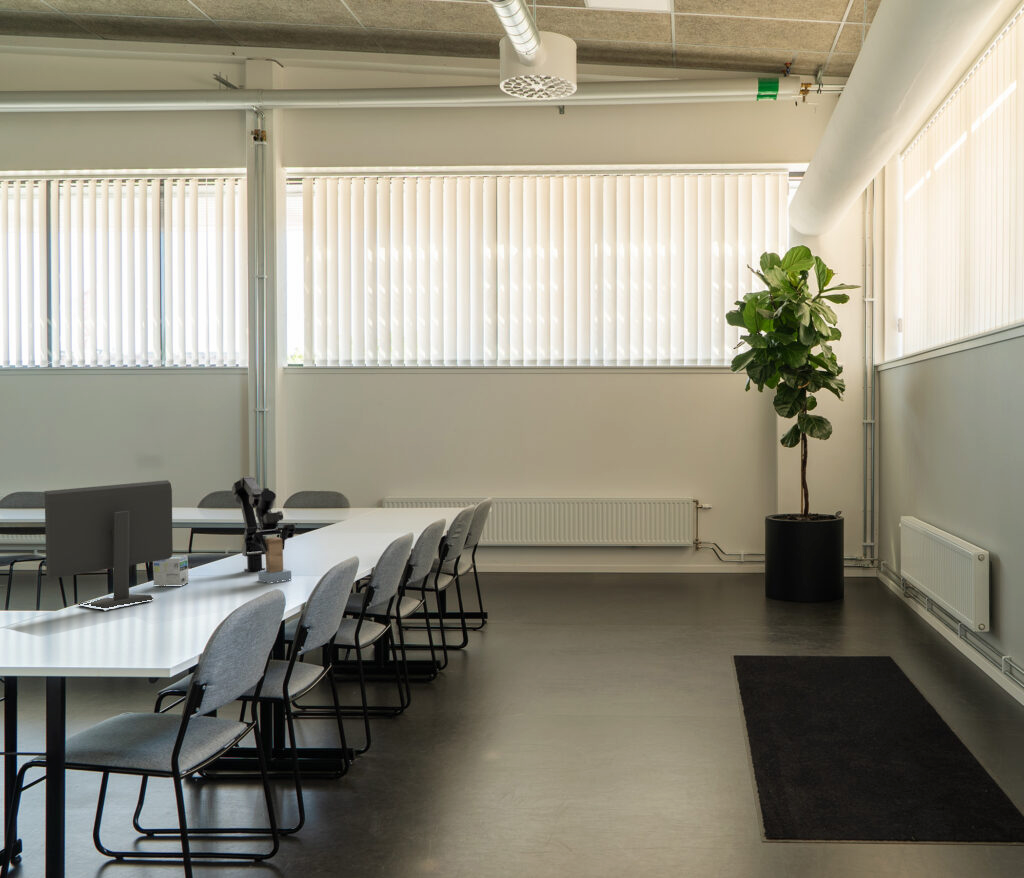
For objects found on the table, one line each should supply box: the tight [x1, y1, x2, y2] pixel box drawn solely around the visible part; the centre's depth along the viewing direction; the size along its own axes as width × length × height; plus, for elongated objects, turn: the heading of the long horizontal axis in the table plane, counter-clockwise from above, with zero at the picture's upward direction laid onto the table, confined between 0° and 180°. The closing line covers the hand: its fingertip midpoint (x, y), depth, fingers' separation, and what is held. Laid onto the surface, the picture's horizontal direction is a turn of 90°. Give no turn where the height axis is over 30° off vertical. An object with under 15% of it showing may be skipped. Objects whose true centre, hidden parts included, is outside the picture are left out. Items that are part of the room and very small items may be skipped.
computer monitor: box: [44, 479, 174, 608], centre depth 302 cm, size 44×16×40 cm, turn 145°
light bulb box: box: [152, 555, 190, 586], centre depth 334 cm, size 11×7×11 cm, turn 84°
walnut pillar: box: [265, 536, 284, 573], centre depth 338 cm, size 5×5×12 cm
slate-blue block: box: [257, 568, 292, 584], centre depth 339 cm, size 9×9×4 cm
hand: (275, 550), depth 337 cm, fingers open, 6 cm apart
